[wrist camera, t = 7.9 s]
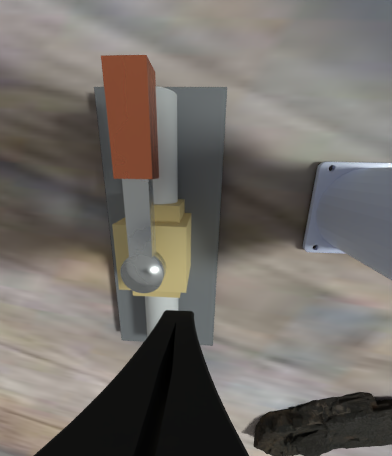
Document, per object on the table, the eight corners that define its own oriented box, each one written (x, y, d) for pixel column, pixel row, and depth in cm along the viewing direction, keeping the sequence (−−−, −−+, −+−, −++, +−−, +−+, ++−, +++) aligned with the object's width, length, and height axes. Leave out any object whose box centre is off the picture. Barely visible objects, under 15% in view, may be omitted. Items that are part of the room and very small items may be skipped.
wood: (433, 378, 23) (467, 409, 20) (430, 422, 25) (460, 457, 22) (243, 400, 26) (248, 430, 23) (253, 438, 27) (258, 470, 24)
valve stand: (225, 93, 15) (237, 43, 9) (212, 336, 22) (214, 398, 16) (102, 93, 16) (37, 44, 10) (126, 331, 23) (96, 390, 17)
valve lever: (167, 283, 13) (162, 296, 12) (129, 281, 13) (120, 294, 12) (160, 72, 10) (153, 54, 8) (110, 72, 10) (94, 55, 8)
